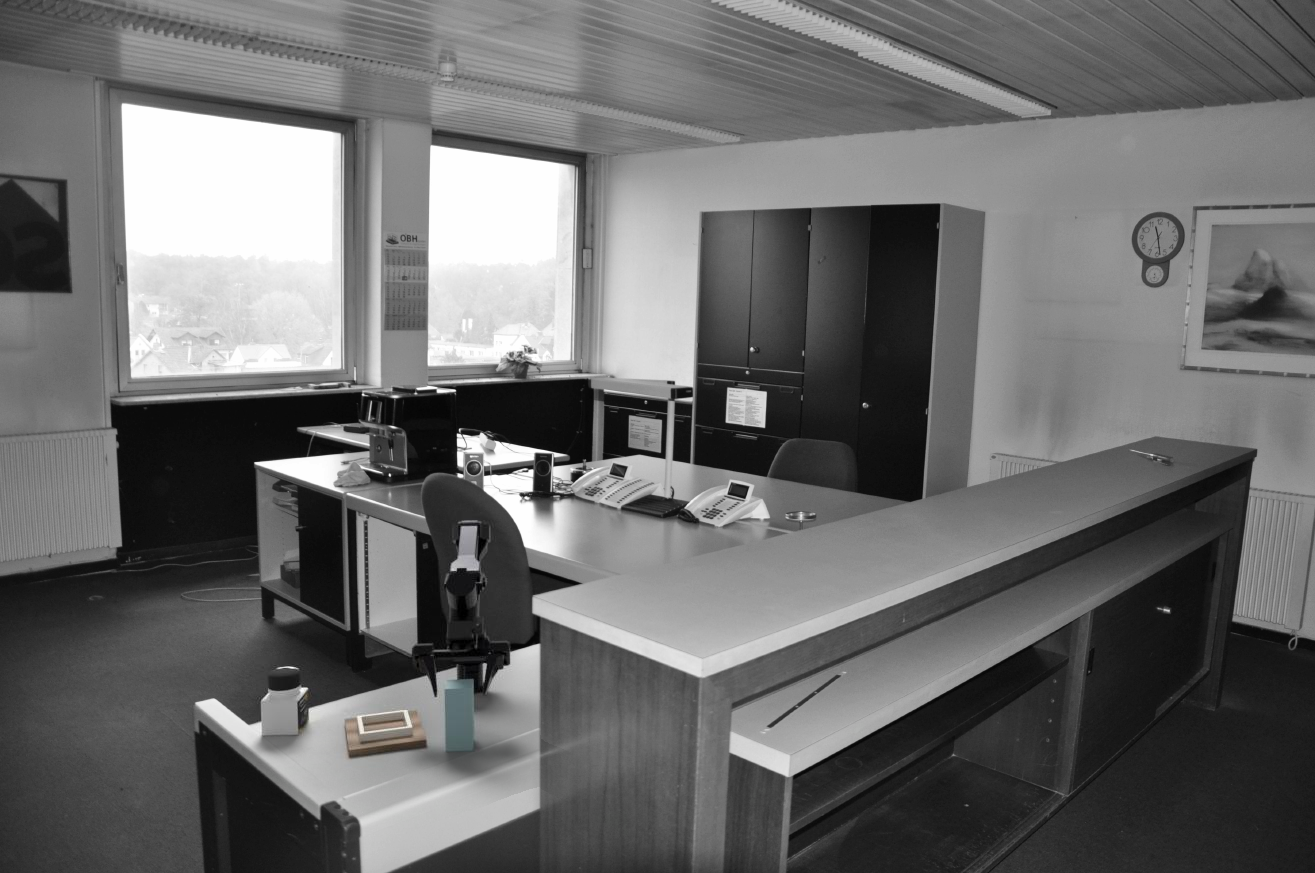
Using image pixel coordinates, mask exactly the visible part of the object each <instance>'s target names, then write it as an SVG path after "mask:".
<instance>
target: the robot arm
mask: <svg viewBox="0 0 1315 873" xmlns="http://www.w3.org/2000/svg"><path fill="white" fill-rule="evenodd" d="M452 542H453V544H455V547H456V553H457V556H456V558H457V559H455V560H454V561H452V562H451V563H450V568H449V573H446V574H445V579H444V582H443V588H444V592H446V596H447V601H448V602H447V603H448V605H449V614H448V615H449V616H448V621H447V624H446V626H447V630H446V634H445V635H446V639H445V646H447V649H435V646H434V643H433V642H432V643H431V642H430V643H429V642H428V643H415V644H414V645H413V646H412V648H411V660H412V663H413V664H412V666H413V668H414V669H416V670H420V673H423V674H424V673H425V674H426V676H427V678H428V681H429V683H430V686H431V689H432V693H433V696H434V698H437V697H438V682H437V680H438V679H437V668H436V661H444V660H445V661H449V666H453V665H455V666H456V680H459V679H474V693H480V692H481V693H482V692H483V696H487V693H488V690H489V689H490V686H491V684H492V682H493V680H494V678H495V676H496V674H497V673H498V672H499V670H500V671H501V670H504V669H505V668H504V667H508V666H510V665H511V643H510V642H508V641H509V640H490V637H489V635H487V634H486V626H485V624H484V616H480V599H481V598H480V595H481V594H482V593H481V592H482V591H483V590H484V589H485V588H486V587H487V583H488V579H487V577H486V574H485V573H484V572H482V570H481V567H482V566H481V562H482V560H483V558H484V557H485V556H486V555H487V553H488V544H489V543H491V525H490V524H487V523H485V522H482V521H479V520H473V519H471V520H460V521H458V523H457V524H453V525H452ZM484 664H486V667H485V675H484Z"/></svg>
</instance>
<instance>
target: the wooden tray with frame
mask: <svg viewBox="0 0 1315 873" xmlns="http://www.w3.org/2000/svg"><path fill="white" fill-rule="evenodd" d="M344 729H345V735H346V736H345V737H346V742H347V744H346V745H347V751H348V757H354V756H356V757H357V756H362V755H363V756H364V755H369V754H370V755H371V754H375V753H376V754H377V753H385V752H391V751H397V750H406V749H412V748H419V747H420V748H421V747H425V746H426V747H427V746H428V745H427V744H428V743H427V737H426V734H425V731H424V728H423V726H422V722H421V720H420V717H419V713H418V711H417V709H414V710H408V709H404V710H403V709H402V710H394V711H387V712H379V713H370V714H363V715H357V716H355V717H349V718H344Z"/></svg>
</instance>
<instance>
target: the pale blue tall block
mask: <svg viewBox="0 0 1315 873" xmlns="http://www.w3.org/2000/svg"><path fill="white" fill-rule="evenodd" d="M474 693H475V692H474V679H459V680H457V679H446V682H445V687H444V728H445V729H444V730H445V733H444V734H445V735H444V736H445V738H444V739H445V741H444V742H445V743H444V744H445V752H463V751H466V752H467V751H473V750H474V745H475V696H474V695H475V694H474Z"/></svg>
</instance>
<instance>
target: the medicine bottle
mask: <svg viewBox="0 0 1315 873" xmlns="http://www.w3.org/2000/svg"><path fill="white" fill-rule="evenodd" d="M301 674H302V673H301V670H300V669H299V668H298V667H295V666H282V667H281V666H280V667H276V668H274V669H272V670H270V671H269V672H268V674H267V691H268V693H267V694H266V695H265V696H264V697H263V698H262V699H261V701H260V714H261V715H260V716H261V717H260V718H261V719H260V720H261V735H262V736H263V737H265V736H267V737H268V736H271V737H272V736H273V737H274V736H298V735H300V734H301V732H302V731H303V730H304V728H305V727H306V726H307V724H308V723H309V721H310V712H309V711H310V710H309V688H308V687H302V680H301V679H302V675H301Z"/></svg>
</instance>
